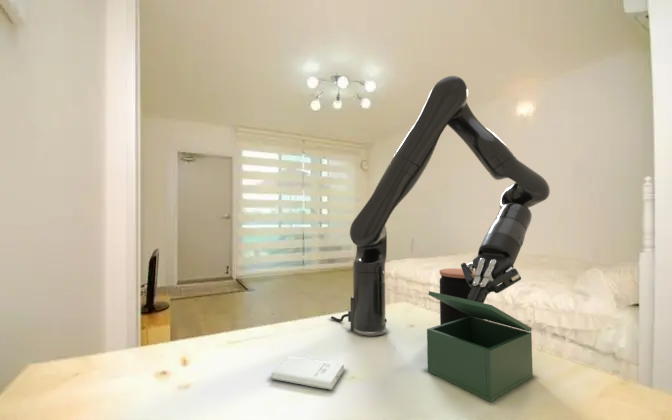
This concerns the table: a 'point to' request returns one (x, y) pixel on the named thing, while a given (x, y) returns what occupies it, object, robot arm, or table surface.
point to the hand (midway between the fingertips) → (473, 304)
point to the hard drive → (308, 372)
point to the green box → (480, 356)
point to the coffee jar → (453, 293)
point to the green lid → (480, 310)
